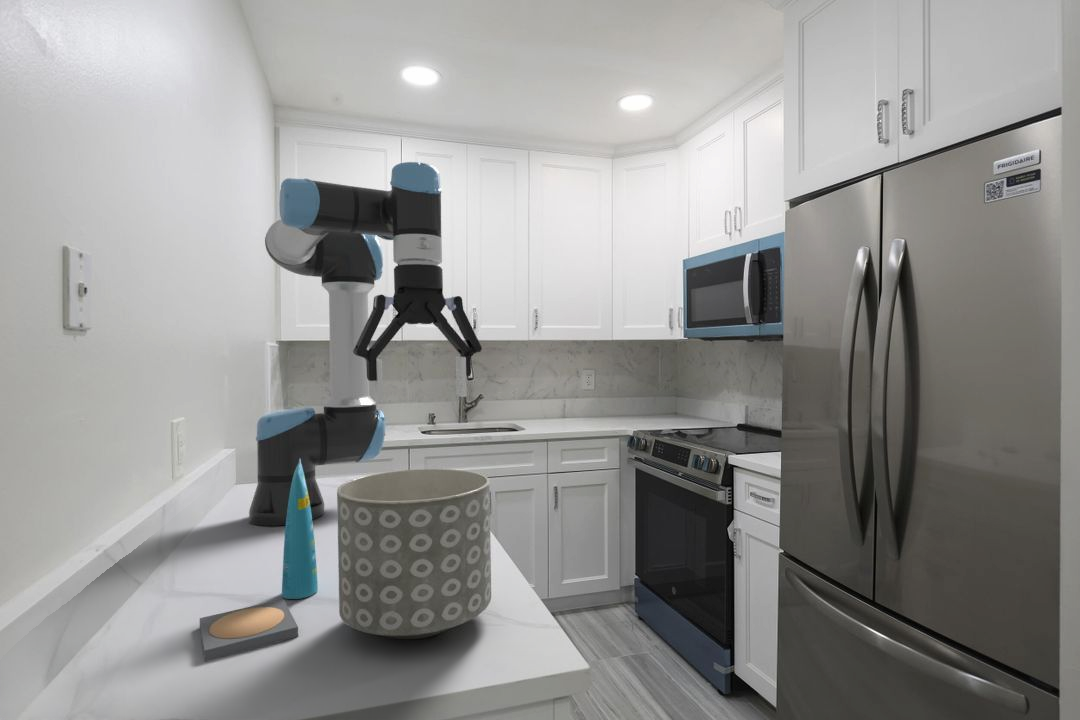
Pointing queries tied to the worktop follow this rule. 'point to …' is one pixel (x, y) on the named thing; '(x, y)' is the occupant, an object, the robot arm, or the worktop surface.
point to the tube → (299, 542)
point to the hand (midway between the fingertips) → (421, 399)
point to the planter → (413, 551)
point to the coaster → (246, 629)
